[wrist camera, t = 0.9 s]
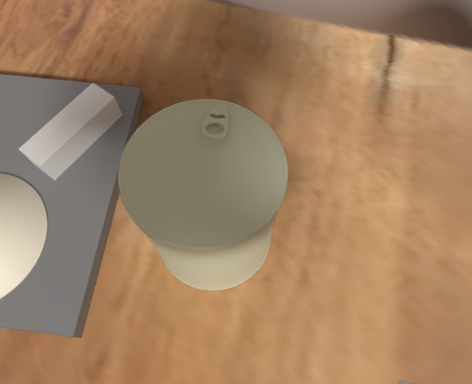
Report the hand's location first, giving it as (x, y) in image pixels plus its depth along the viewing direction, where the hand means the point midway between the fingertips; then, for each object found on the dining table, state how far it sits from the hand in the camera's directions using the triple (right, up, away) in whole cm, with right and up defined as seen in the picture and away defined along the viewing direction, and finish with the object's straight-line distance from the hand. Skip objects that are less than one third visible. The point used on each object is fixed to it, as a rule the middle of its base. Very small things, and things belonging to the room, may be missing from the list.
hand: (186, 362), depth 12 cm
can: (0, +2, +19) cm, 19 cm away
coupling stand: (-18, +6, +20) cm, 28 cm away
